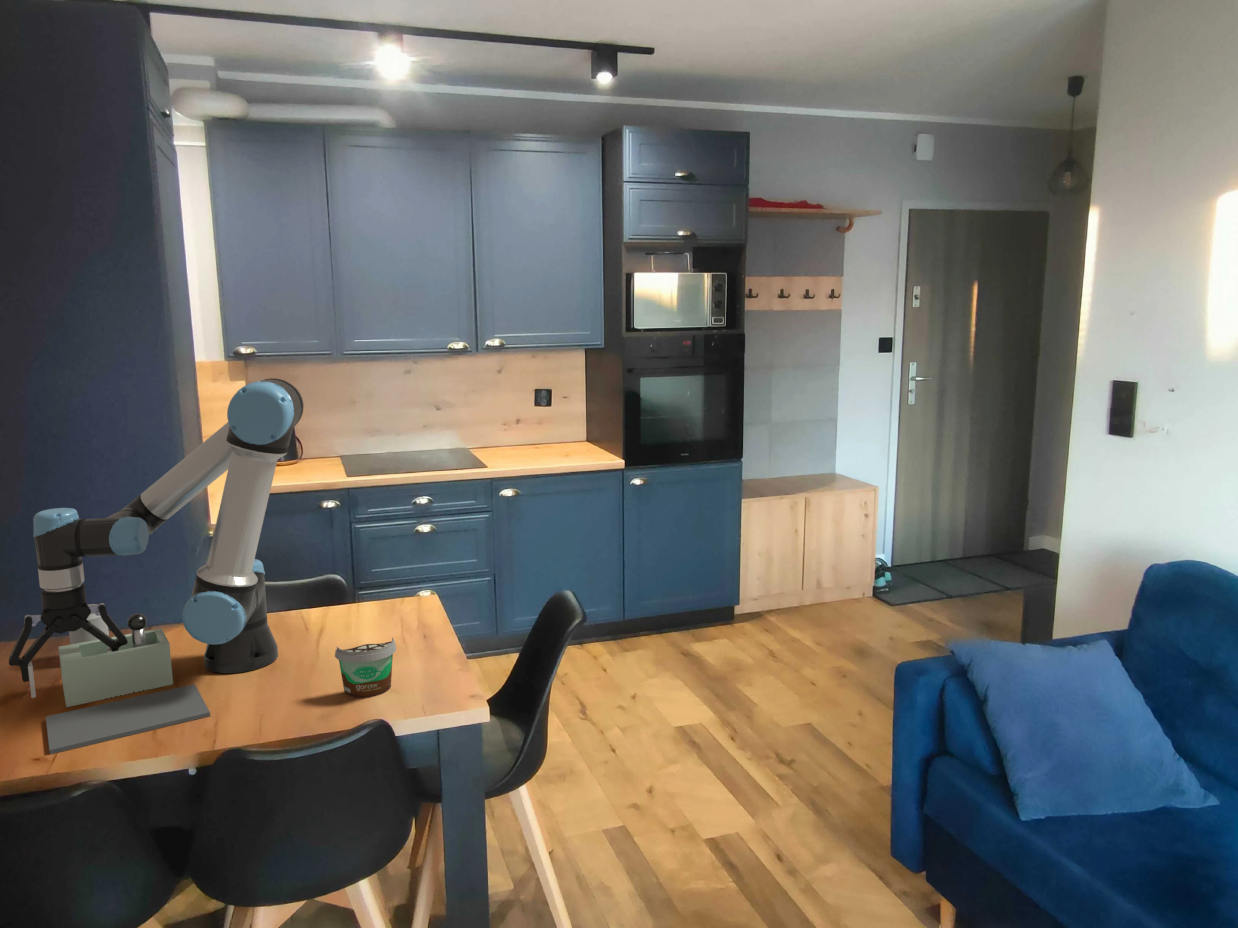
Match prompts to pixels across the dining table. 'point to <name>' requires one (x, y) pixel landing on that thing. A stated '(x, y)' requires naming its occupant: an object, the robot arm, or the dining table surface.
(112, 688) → the green slotted block
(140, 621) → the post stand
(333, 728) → the dining table surface
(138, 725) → the rubber mat
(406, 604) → the dining table surface
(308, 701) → the dining table surface
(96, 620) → the can
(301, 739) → the dining table surface
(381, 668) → the food container
